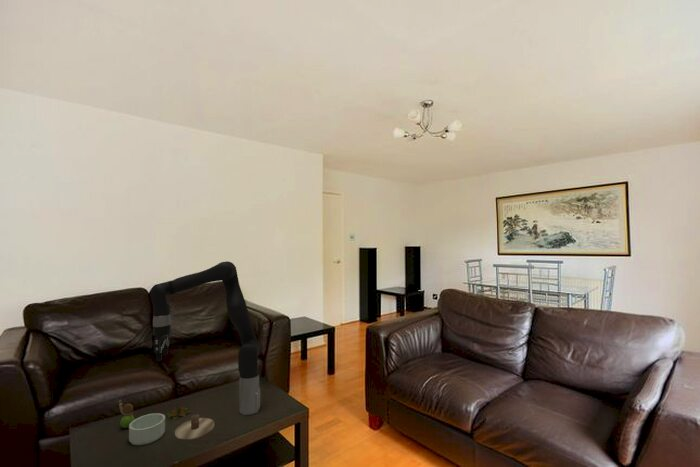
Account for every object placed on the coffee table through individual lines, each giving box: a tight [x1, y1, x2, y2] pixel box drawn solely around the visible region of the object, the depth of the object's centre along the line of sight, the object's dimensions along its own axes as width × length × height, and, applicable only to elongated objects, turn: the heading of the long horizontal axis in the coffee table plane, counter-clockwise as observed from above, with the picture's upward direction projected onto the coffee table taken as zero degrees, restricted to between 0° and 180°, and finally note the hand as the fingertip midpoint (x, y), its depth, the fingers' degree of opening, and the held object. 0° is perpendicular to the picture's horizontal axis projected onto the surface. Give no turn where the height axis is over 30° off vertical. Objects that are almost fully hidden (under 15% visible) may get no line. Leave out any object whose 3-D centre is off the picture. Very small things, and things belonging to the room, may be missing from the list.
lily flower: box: [164, 404, 193, 421], centre depth 159 cm, size 12×12×5 cm
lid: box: [174, 413, 215, 441], centre depth 146 cm, size 16×16×6 cm
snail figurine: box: [118, 399, 136, 429], centre depth 148 cm, size 5×6×12 cm
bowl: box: [128, 412, 166, 446], centre depth 140 cm, size 13×13×6 cm
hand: (162, 357), depth 159 cm, fingers open, 8 cm apart
